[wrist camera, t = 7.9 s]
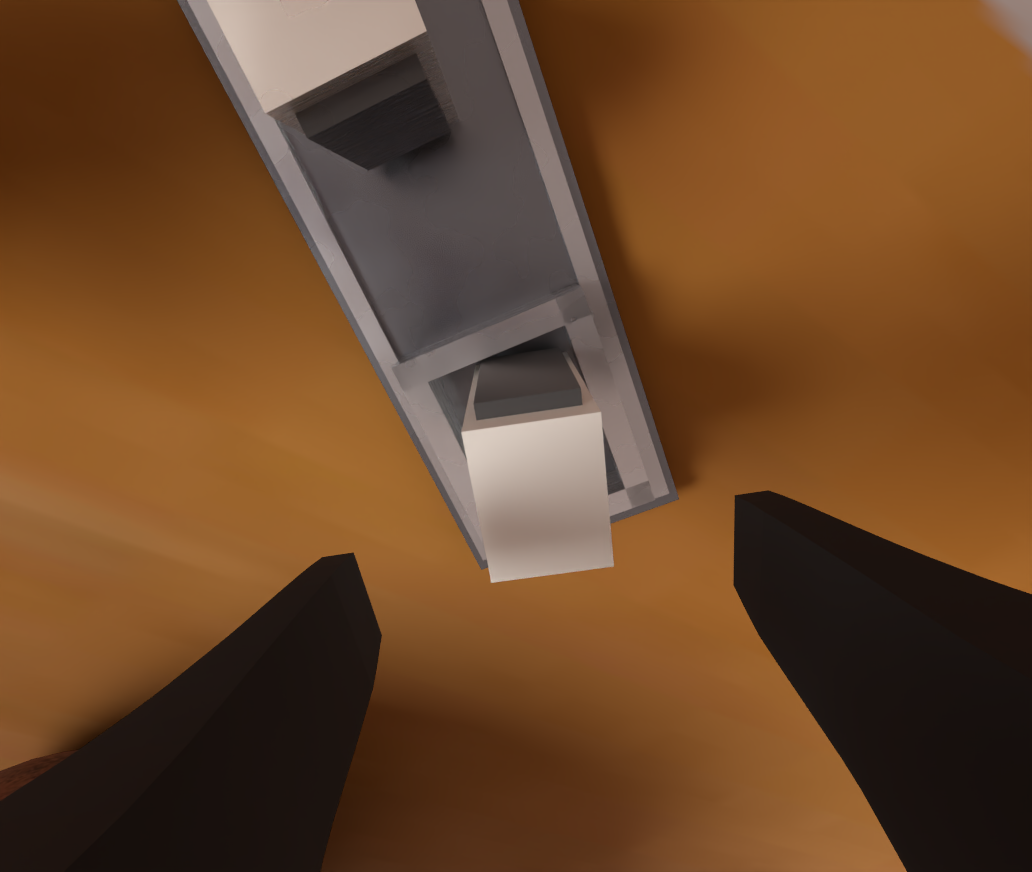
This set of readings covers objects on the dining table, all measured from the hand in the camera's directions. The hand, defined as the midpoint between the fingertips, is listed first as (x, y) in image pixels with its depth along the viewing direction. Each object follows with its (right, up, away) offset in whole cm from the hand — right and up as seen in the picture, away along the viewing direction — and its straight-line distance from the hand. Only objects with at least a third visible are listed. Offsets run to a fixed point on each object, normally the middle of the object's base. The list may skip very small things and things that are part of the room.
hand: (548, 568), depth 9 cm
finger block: (0, +3, +7) cm, 8 cm away
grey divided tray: (-2, +8, +7) cm, 10 cm away
